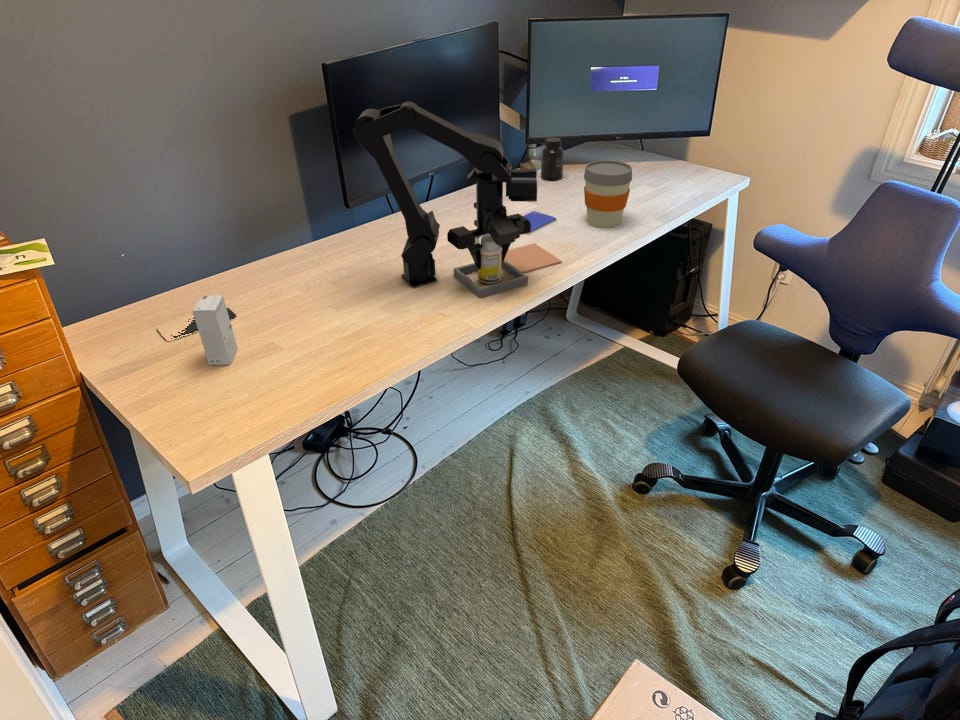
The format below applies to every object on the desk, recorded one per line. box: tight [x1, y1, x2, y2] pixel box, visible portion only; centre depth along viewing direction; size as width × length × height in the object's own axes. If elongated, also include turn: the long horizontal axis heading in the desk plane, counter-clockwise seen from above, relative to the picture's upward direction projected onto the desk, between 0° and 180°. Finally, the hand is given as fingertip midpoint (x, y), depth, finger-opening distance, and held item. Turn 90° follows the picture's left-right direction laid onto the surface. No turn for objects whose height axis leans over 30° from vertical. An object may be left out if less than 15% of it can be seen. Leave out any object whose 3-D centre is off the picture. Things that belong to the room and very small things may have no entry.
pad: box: [504, 243, 563, 274], centre depth 166 cm, size 12×12×1 cm
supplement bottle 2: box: [540, 137, 565, 182], centre depth 212 cm, size 7×7×12 cm
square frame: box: [452, 260, 529, 299], centre depth 157 cm, size 13×13×2 cm
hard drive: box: [522, 210, 557, 236], centre depth 185 cm, size 2×8×12 cm
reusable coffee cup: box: [583, 159, 633, 229], centre depth 181 cm, size 13×13×15 cm
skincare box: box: [192, 294, 238, 366], centre depth 129 cm, size 6×4×12 cm
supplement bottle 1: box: [477, 235, 503, 285], centre depth 154 cm, size 6×6×10 cm
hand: (489, 265), depth 155 cm, fingers closed on supplement bottle 1, 5 cm apart
